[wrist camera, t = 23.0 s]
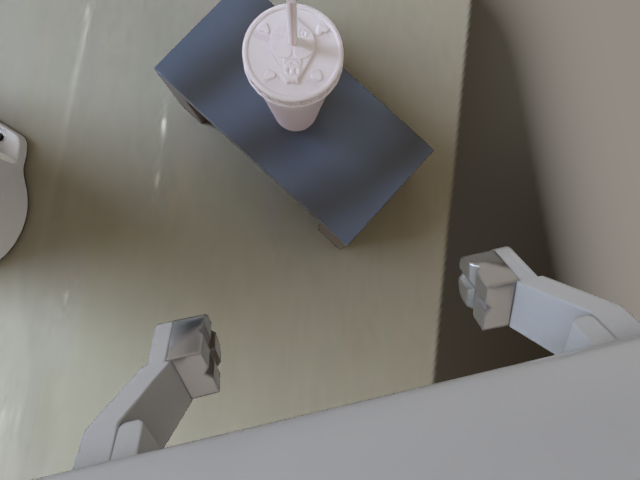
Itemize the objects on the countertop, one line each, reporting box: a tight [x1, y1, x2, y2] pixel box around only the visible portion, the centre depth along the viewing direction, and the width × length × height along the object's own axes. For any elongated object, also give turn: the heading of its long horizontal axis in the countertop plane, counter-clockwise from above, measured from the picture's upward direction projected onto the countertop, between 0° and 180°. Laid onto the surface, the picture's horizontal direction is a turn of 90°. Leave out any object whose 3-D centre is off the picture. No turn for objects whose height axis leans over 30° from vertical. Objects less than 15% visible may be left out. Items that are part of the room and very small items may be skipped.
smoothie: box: [242, 0, 344, 131], centre depth 29 cm, size 6×6×14 cm
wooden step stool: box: [154, 0, 433, 249], centre depth 40 cm, size 22×11×8 cm, turn 48°
